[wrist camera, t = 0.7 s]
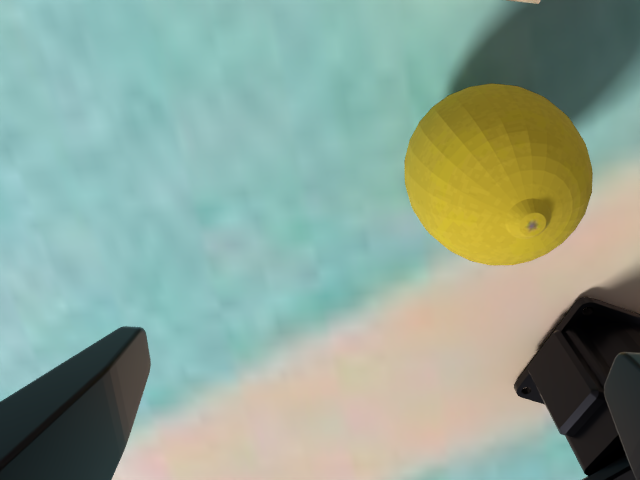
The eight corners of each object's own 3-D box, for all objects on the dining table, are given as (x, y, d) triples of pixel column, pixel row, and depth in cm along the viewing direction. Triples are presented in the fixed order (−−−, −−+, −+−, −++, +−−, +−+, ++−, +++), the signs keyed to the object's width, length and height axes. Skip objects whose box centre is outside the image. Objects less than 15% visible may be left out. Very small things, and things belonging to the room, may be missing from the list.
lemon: (405, 59, 18) (452, 108, 11) (549, 74, 18) (685, 132, 11) (382, 194, 21) (408, 302, 14) (508, 206, 21) (598, 320, 14)
